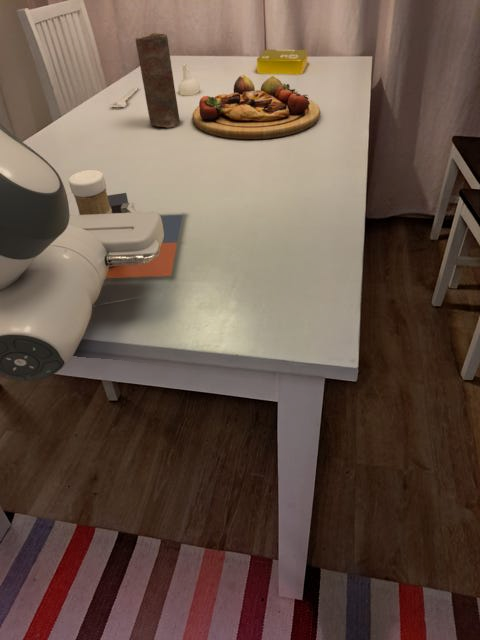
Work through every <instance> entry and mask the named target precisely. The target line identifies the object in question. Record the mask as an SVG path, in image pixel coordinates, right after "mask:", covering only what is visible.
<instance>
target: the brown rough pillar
mask: <svg viewBox="0 0 480 640" xmlns="http://www.w3.org/2000/svg"><path fill="white" fill-rule="evenodd" d="M135 45H136V50H137V56H138V62H139V66H140V73H141V79H142V83H143V90H144V97H145V102H146V106H147V113H148V119H149V123H150V124H151V125H152V126H154V127H155V126H156V127H159V128H160V127H161V128H162V127H163V128H177V127H178V126H180V124H181V121H180V114H179V106H178V100H177V94H176V87H175V82H174V81H175V80H174V74H173V68H172V67H173V66H172V59H171V53H170V47H169V39H168V35H167V34H166V33H158V32H152V33H150V34H149V35H146V36H142V37H140V38H138V37H136V38H135Z"/></svg>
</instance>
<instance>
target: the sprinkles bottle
mask: <svg viewBox="0 0 480 640" xmlns="http://www.w3.org/2000/svg"><path fill="white" fill-rule="evenodd" d="M68 184H69V188H70V192H71V193H72V195H73V197H74V199H75V200H74V201H75V203H76V206H77V209H78V213H79V214H78V215H89V214H112V210H111V207H110V204H109V201H108V193H107V184H106V180H105V177H104V173H102V172H101V171H99V170H96V169H95V170H94V169H87V170H82V171H77V172H75V173H73V174H72V175H71V176H70V177H69V178H68ZM109 267H113V266H109Z"/></svg>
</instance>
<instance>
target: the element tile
mask: <svg viewBox="0 0 480 640" xmlns="http://www.w3.org/2000/svg"><path fill="white" fill-rule="evenodd" d="M308 54H309V53H308V50H307V49H288V48H287V49H265V50H263V51H262V52H261V54H259V56H257V58H256V73H257V74H260V75H301V74H303V73H304V71H305V69H306V67H307V66H308Z"/></svg>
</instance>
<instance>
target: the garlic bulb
mask: <svg viewBox="0 0 480 640" xmlns="http://www.w3.org/2000/svg"><path fill="white" fill-rule="evenodd" d="M187 65H188V64H185V63H182V73H183V74H182V75H183V76H182V77H183V78H182V80H181V81H180V82H179V84H178V87H177V88H178V90H177V91H178V93H179V95H180V96H184V97H186V96H187V97H188V96H195V95H196V94H198V93H199V92H200V88H201V86H200V83H199V82H198V80H197V79H195V78H193V77H191V74H190V72H189V69H188V66H187Z"/></svg>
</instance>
